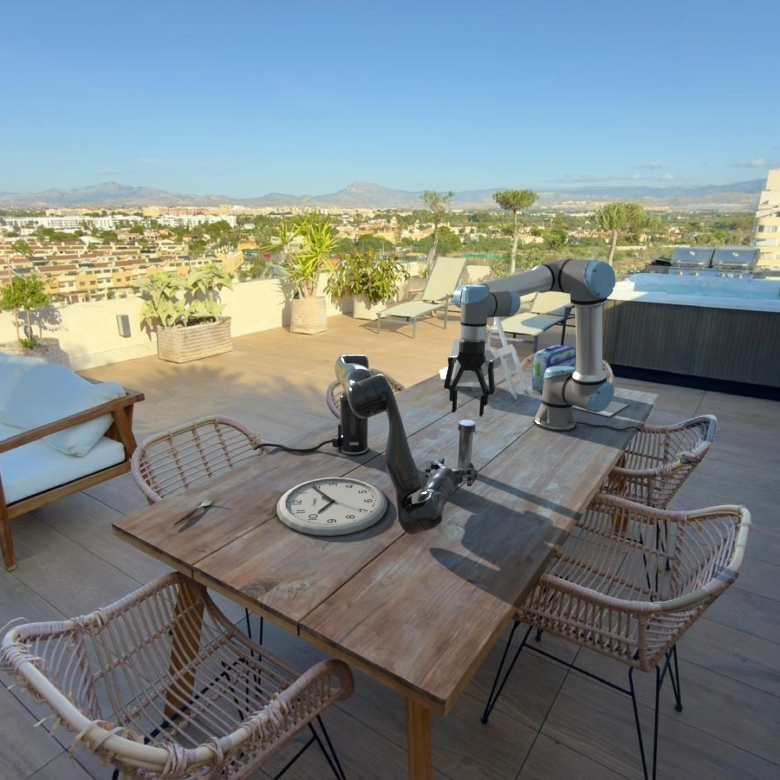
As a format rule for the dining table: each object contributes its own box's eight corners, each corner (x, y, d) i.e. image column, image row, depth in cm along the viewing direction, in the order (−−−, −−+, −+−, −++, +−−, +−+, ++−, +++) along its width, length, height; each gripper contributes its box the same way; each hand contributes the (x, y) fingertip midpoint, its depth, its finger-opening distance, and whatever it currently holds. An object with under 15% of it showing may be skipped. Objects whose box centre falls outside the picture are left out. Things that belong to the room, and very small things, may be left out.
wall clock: (392, 527, 129) (268, 531, 127) (391, 533, 130) (269, 537, 127) (383, 473, 158) (282, 475, 155) (383, 478, 158) (282, 480, 156)
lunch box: (548, 397, 237) (553, 352, 230) (527, 392, 244) (531, 348, 238) (575, 386, 254) (580, 344, 248) (555, 382, 261) (559, 340, 255)
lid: (475, 433, 157) (475, 426, 157) (457, 432, 158) (458, 425, 157) (474, 427, 162) (475, 420, 162) (458, 426, 163) (458, 419, 162)
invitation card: (608, 416, 214) (573, 407, 224) (608, 416, 214) (573, 408, 224) (628, 404, 229) (594, 396, 238) (628, 405, 229) (594, 397, 238)
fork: (169, 526, 131) (168, 519, 131) (210, 497, 146) (210, 490, 145) (177, 528, 130) (176, 521, 130) (218, 498, 145) (217, 492, 144)
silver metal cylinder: (470, 474, 162) (473, 427, 157) (457, 473, 163) (460, 426, 158) (470, 468, 166) (473, 422, 161) (457, 467, 167) (460, 421, 162)
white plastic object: (461, 429, 252) (437, 405, 227) (444, 352, 274) (420, 323, 250) (535, 404, 240) (518, 377, 215) (510, 326, 262) (492, 293, 237)
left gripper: (467, 479, 136) (481, 455, 151) (416, 469, 142) (434, 447, 156) (465, 505, 139) (479, 479, 153) (415, 494, 144) (433, 470, 158)
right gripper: (510, 340, 152) (503, 414, 158) (441, 333, 159) (438, 405, 165) (505, 345, 145) (499, 422, 152) (434, 338, 152) (431, 412, 159)
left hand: (457, 463), depth 154 cm, fingers open, 8 cm apart
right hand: (467, 413), depth 159 cm, fingers open, 8 cm apart
